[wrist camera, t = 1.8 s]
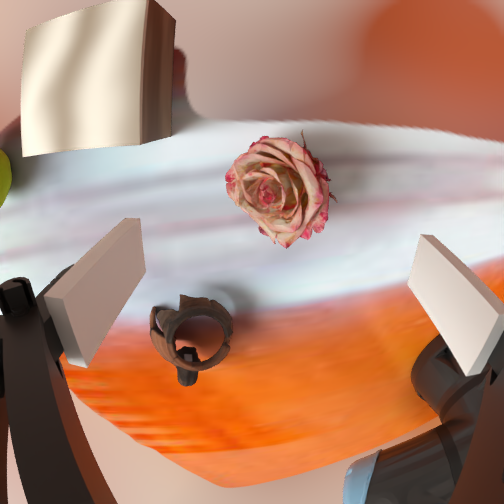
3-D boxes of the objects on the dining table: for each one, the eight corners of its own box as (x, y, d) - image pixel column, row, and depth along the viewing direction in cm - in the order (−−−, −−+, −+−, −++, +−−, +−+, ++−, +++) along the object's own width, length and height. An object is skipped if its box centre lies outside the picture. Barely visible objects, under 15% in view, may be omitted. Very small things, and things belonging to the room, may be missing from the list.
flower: (335, 118, 25) (286, 118, 19) (365, 217, 26) (327, 248, 21) (255, 149, 31) (198, 160, 26) (281, 231, 33) (231, 259, 28)
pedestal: (175, 20, 22) (147, -7, 15) (171, 136, 27) (139, 144, 20) (71, 40, 23) (26, 30, 15) (69, 144, 28) (22, 157, 20)
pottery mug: (142, 283, 35) (151, 306, 28) (217, 277, 39) (243, 296, 32) (152, 370, 37) (164, 407, 30) (219, 360, 41) (243, 391, 34)
